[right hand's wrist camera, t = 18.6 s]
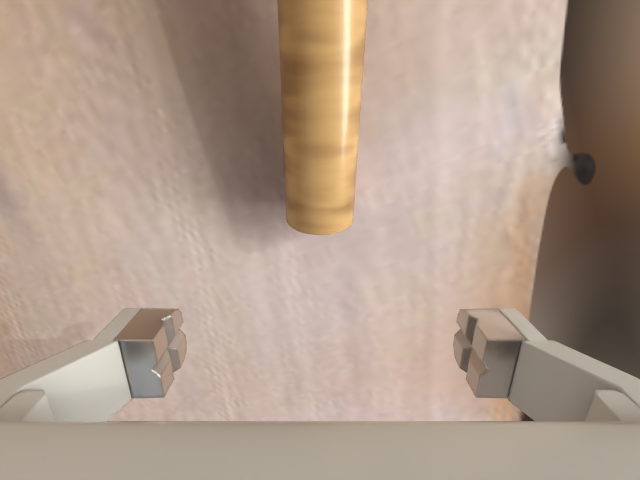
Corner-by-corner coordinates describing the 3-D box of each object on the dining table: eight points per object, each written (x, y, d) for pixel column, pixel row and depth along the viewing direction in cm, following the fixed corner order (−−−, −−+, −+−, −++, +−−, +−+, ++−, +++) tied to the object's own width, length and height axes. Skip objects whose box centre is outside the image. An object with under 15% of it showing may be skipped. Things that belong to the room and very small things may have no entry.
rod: (349, 205, 35) (356, 235, 29) (288, 205, 34) (284, 235, 29) (375, -226, 21) (397, -314, 15) (272, -230, 20) (259, -320, 15)
